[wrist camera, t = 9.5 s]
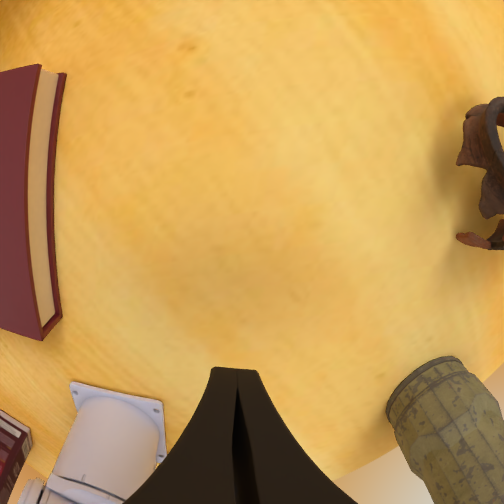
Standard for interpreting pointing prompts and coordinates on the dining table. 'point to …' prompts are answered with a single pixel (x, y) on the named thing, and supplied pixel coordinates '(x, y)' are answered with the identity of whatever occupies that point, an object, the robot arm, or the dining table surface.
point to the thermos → (450, 433)
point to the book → (28, 200)
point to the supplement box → (12, 453)
